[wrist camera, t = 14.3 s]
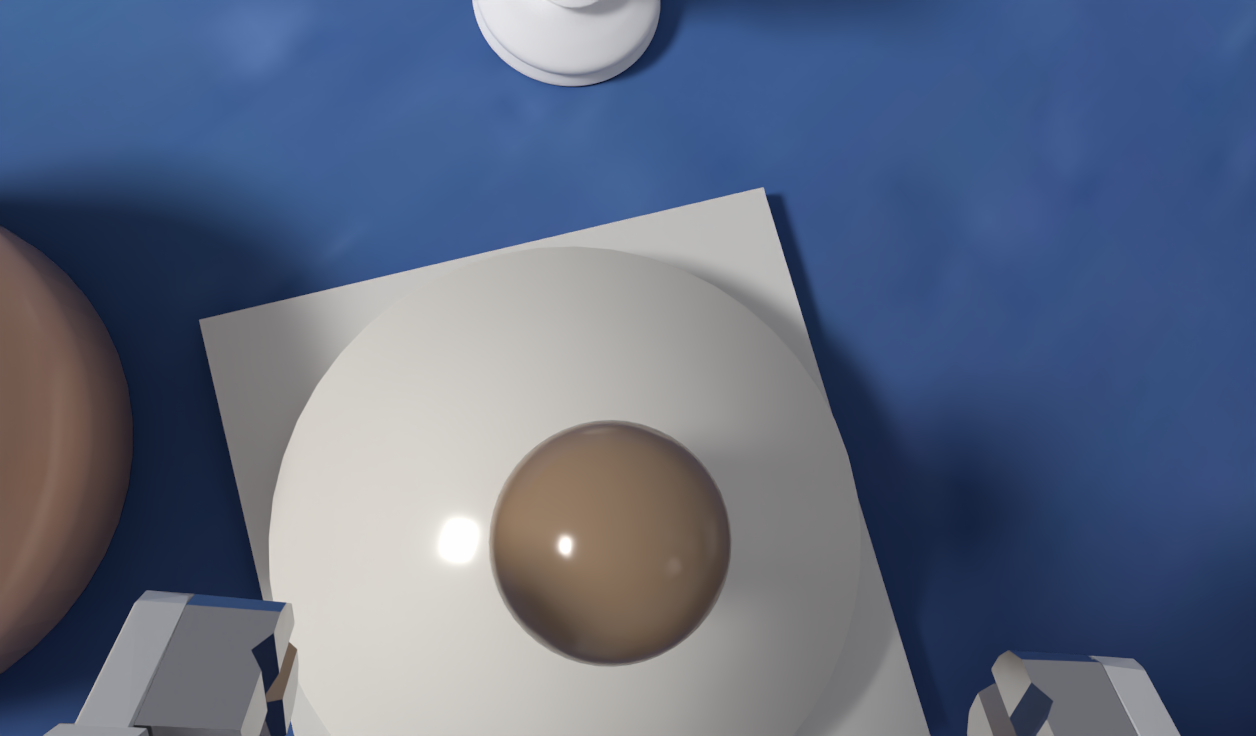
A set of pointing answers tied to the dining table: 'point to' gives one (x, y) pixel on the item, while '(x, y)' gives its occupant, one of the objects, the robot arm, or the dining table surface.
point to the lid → (566, 512)
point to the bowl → (54, 444)
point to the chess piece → (568, 36)
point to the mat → (681, 237)
